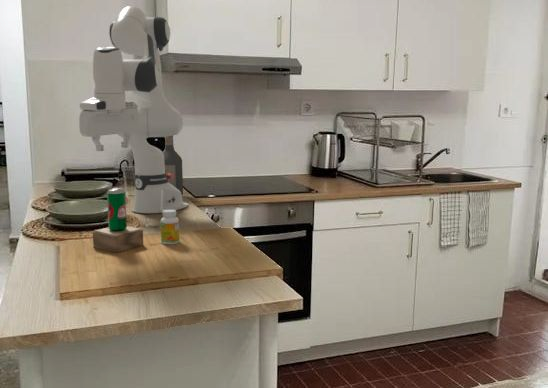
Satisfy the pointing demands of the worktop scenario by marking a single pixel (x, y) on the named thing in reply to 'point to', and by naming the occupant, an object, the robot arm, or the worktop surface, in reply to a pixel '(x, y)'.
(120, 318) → the worktop surface
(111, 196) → the soda can
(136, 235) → the walnut block
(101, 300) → the worktop surface
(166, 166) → the liquor
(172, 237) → the supplement bottle
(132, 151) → the robot arm
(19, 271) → the worktop surface
